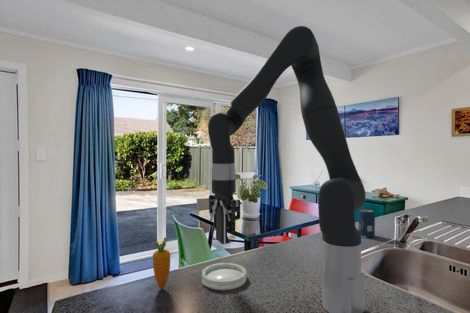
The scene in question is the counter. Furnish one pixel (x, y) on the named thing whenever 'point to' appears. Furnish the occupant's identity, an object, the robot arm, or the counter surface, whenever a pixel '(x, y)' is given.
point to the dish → (224, 276)
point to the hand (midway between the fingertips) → (224, 230)
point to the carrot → (161, 264)
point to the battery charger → (222, 225)
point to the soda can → (367, 222)
